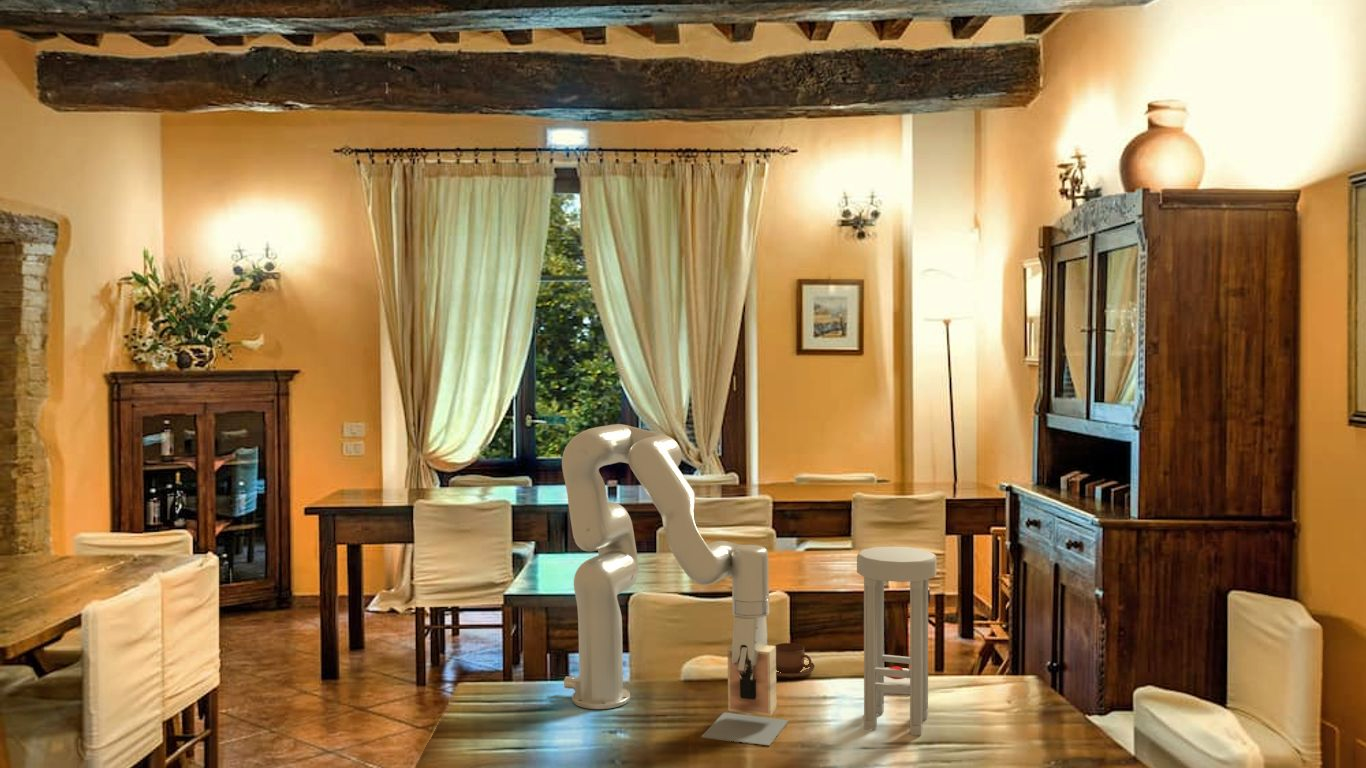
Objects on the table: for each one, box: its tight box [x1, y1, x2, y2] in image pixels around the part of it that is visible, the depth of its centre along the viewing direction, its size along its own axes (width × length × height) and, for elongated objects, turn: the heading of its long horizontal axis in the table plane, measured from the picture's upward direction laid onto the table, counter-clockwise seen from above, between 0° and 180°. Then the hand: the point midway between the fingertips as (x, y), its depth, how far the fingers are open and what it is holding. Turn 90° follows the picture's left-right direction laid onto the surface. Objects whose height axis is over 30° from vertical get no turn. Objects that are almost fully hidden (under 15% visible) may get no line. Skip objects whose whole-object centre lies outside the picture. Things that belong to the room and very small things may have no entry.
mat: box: [701, 712, 789, 746], centre depth 217 cm, size 14×14×1 cm
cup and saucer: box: [774, 642, 815, 678], centre depth 253 cm, size 12×12×6 cm
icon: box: [884, 666, 910, 696], centre depth 243 cm, size 12×4×10 cm
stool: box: [856, 545, 937, 736], centre depth 219 cm, size 16×16×35 cm
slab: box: [726, 643, 778, 716], centre depth 220 cm, size 9×4×13 cm, turn 69°
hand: (751, 693), depth 220 cm, fingers closed on slab, 4 cm apart
